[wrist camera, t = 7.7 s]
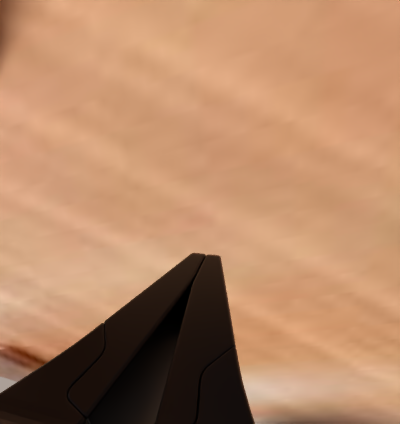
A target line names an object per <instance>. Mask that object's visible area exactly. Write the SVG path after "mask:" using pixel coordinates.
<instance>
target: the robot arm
mask: <svg viewBox="0 0 400 424" xmlns="http://www.w3.org/2000/svg"><path fill="white" fill-rule="evenodd" d="M0 424H255V422H254V419H253V416H252V413H251V410H250V407H249V403H248V399H247V396H246V392H245V389H244V385H243V381H242V377H241V372H240V367H239V362H238V356H237V350H236V345H235V339H234V333H233V327H232V321H231V315H230V309H229V304H228V298H227V292H226V286H225V280H224V274H223V268H222V262H221V257H220V256H218V255H205V254H200V253H192V254H190V255H189V256H188V257H187V258H185V259H184V260H183V261H181V262H180V263H179V264H178V265H176V266H175V267H174V268H172V269H171V270H170V271H169V272H167V273H166V274H165V275H163V276H162V277H161V278H160V279H158V280H157V281H156V282H154V283H153V284H152V285H151V286H149V287H148V288H147V289H145V290H144V291H143V292H142V293H140V294H139V295H138V296H136V297H135V298H134V299H133V300H131V301H130V302H129V303H127V304H126V305H125V306H124V307H122V308H121V309H120V310H118V311H117V312H116V313H115V314H113V315H112V316H111V317H109V318H108V319H107V320H106V321H105V322H104V323H102V324H100V325H99V326H98V327H96V328H95V329H94V330H93V331H91V332H90V333H89V334H87V335H86V336H85V337H83V338H82V339H80V340H79V341H78V342H76V343H75V344H74V345H72V346H71V347H69V348H68V349H67V350H65V351H64V352H62V353H61V354H59V355H58V356H56V357H55V358H53V359H52V360H50V361H49V362H47V363H46V364H44V365H43V366H41V367H40V368H38V369H37V370H35V371H33V372H32V373H30V374H29V375H27V376H26V377H24V378H23V379H21V380H20V381H18V382H17V383H15V384H14V385H12V386H11V387H9V388H8V389H6V390H4V391H3V392H1V393H0Z"/></svg>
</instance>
